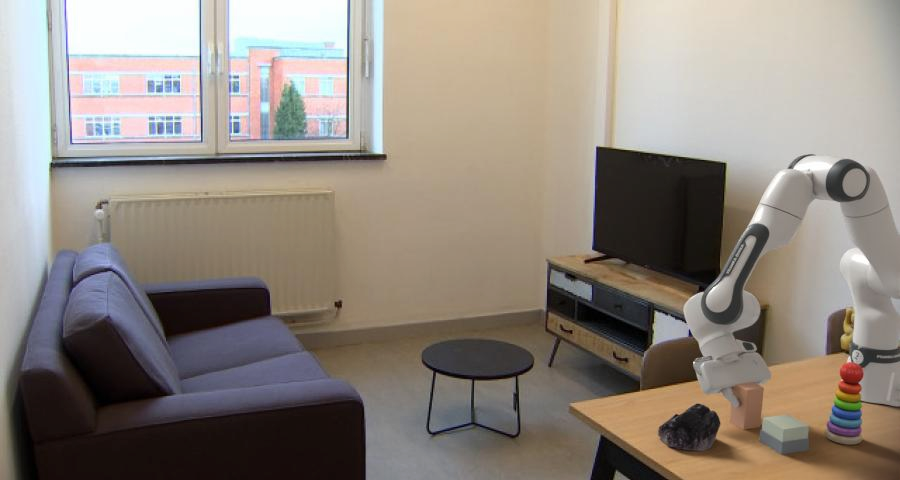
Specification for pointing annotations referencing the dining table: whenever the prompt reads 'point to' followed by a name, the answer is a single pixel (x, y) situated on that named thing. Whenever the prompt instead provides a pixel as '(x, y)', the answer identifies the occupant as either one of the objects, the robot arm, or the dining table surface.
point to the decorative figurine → (848, 329)
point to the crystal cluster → (691, 429)
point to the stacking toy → (847, 407)
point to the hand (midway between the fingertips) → (748, 404)
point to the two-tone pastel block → (784, 434)
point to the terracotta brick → (747, 405)
